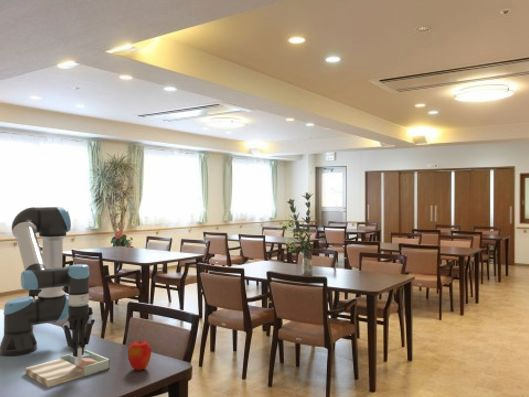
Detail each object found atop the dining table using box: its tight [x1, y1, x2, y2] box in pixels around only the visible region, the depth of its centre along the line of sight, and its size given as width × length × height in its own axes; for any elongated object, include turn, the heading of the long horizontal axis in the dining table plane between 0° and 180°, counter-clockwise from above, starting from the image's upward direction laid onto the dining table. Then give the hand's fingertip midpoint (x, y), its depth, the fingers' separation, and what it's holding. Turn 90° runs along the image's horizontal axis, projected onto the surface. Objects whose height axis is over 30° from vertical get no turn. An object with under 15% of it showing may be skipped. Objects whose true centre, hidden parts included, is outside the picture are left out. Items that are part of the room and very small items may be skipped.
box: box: [60, 349, 111, 377], centre depth 188 cm, size 19×11×4 cm, turn 50°
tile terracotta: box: [76, 358, 98, 369], centre depth 183 cm, size 6×6×3 cm
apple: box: [127, 340, 152, 371], centre depth 185 cm, size 9×9×12 cm
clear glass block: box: [69, 353, 90, 365], centre depth 191 cm, size 6×6×3 cm
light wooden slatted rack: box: [25, 358, 85, 388], centre depth 178 cm, size 19×14×2 cm
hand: (78, 364), depth 181 cm, fingers closed
